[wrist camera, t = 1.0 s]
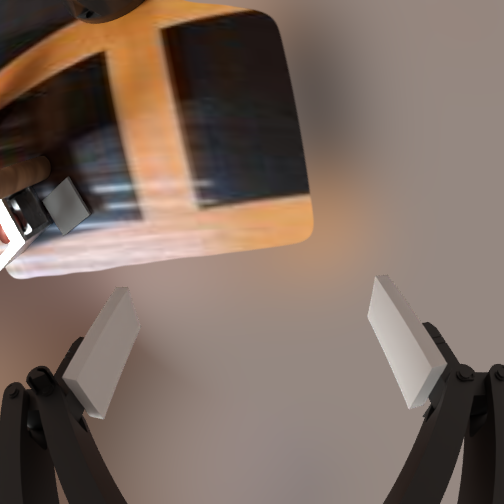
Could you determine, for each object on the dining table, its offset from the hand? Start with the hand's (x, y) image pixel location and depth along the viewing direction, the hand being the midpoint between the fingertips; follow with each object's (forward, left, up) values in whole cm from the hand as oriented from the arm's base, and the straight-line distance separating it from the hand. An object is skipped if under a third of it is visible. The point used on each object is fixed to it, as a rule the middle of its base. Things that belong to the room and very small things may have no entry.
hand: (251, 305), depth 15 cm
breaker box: (-17, -37, -26) cm, 48 cm away
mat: (-13, -26, -26) cm, 39 cm away
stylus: (-21, -27, -26) cm, 42 cm away
